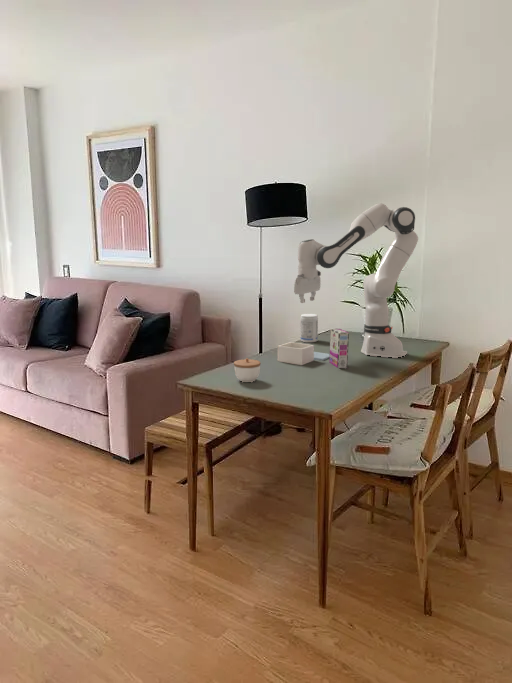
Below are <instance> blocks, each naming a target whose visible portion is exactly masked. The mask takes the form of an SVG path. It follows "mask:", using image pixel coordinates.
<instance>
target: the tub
mask: <svg viewBox="0 0 512 683" xmlns="http://www.w3.org/2000/svg"><path fill="white" fill-rule="evenodd" d="M276 352H277V360H276V361H277V362H280V363H286V364H293V365H298V366H303V365H306V364H309V363H311V362H314V360H315V359H314V352H315V344H308V343H301V342H293V341H289V342H287V343H286V342H285V343H283V344H279V345H277V351H276Z"/></svg>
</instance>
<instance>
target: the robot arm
mask: <svg viewBox="0 0 512 683" xmlns="http://www.w3.org/2000/svg"><path fill="white" fill-rule="evenodd" d="M415 222H416V214H415V212H414V210H413V209H411V208H410V207H405V206H402V207H397V208H394V209H392V210H391V209H390V208H389V207H388V206H387V205H385V203H382V202H378V203H376V204H373V205H372V206H370V207H368V208H367V209H366V210H364V211H362V212H361V213H360V214H359V215H357V217H355V218H354V220H353V221H352V222H351V224H350V227H349V230H348V231H347V232H346V234H345V235H343V236H342V237H341V238H340V239H338V240H337V241H336V242H334V243H333V244H331V245H324V244H323V243H320V242H318V241H317V240H315V239H306V240H302V241H300V243H299V244H298V246H297V259H298V266H297V276H296V277H295V280H294V284H293V285H294V287H293V290H294V291H293V292H294V294H295V295H298V297H299V301H300V303H301V304H305V303H306V299H305V297H304V296H305V294H309V293H310V297H309V300H310V301H311V302H312V301H315V297H316V292H317V291H320V290H321V276H322V271H321V270H318V269H317V266H320V267H322V268H325V269H332V268H334V267H335V266H336V265H337V264H338V262H339V261H340V259H341V258H342V256H343V255H344V254H345V253H346V252H348V250H350V249H351V248H352V247H353V246H355V245H356V244H357V243H359V242H361V241H363V240H364V239H366V238H368V237H370V236H372V234H375V233H376V232H377V231H378V230H379V229H380V228H382V227H384V228H386V229H388V230H389V231H390V232H392V233H395V235H394V238H393V241H391V243H390V245H389V246H388V248H387V250H386V251H385V253H384V254H383V255H382V258H381V259H380V264H379V266H378V269H377V271H376V273H375V272H374V273H371V274H368V275H367V276H365V277H364V279H363V282H362V287H363V293H364V303H365V304H364V305H365V319H364V320H365V321H364V323H365V324H363V325H364V326H363V336H364V338H363V342H362V347H361V350H360V352H361V353H362V354H364V355H365V356H367V355H370V356H369V357H377V356H381V358H388V357H392V358H391V359H399V358H398V357H401V358H403V357H402V356H404V357H406V356H407V355H408V351H407V350H404V348H403V343H402V341H401V340H400V339H399V338H398V337H396V336H395V334H393V333H392V330H393V326H390V325H389V312H390V311H389V306H388V300H387V299H388V298H389V297H390V296H392V294H394V291H395V288H396V284H397V282H398V279H399V277H400V274H401V272H402V270H403V269H404V267H405V266H406V264H407V262H408V261H409V259H410V258H411V256H412V254H413V252H414V250H415V249H416V246H417V245H418V242H419V236H418V234H417V233H416V232H415V231H414V230H415ZM406 354H407V355H406ZM405 355H406V356H405Z"/></svg>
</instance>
